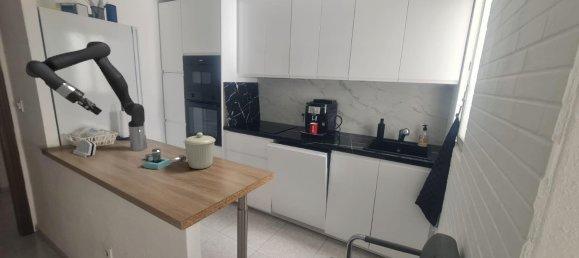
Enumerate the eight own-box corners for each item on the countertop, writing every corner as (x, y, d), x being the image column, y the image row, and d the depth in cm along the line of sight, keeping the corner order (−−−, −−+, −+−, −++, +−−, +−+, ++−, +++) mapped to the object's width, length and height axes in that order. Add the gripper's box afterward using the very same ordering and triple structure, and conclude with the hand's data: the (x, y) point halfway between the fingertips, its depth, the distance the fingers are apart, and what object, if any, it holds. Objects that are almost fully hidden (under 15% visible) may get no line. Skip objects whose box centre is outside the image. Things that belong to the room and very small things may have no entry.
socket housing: (156, 161, 149) (156, 157, 148) (170, 163, 147) (170, 159, 146) (143, 167, 139) (143, 162, 139) (158, 169, 137) (157, 164, 136)
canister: (206, 173, 135) (205, 137, 130) (178, 169, 138) (175, 134, 134) (221, 162, 152) (220, 130, 148) (195, 159, 156) (194, 128, 151)
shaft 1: (158, 162, 147) (157, 158, 147) (151, 164, 145) (150, 159, 144) (151, 157, 156) (151, 153, 155) (144, 159, 153) (144, 154, 152)
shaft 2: (167, 164, 145) (166, 160, 144) (164, 162, 148) (164, 158, 147) (187, 160, 154) (186, 155, 153) (184, 158, 156) (184, 154, 156)
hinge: (72, 152, 158) (76, 138, 159) (80, 153, 162) (85, 139, 163) (85, 157, 151) (89, 142, 152) (93, 158, 155) (98, 143, 156)
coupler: (157, 163, 146) (155, 148, 143) (163, 164, 144) (162, 149, 142) (150, 166, 141) (149, 150, 139) (157, 167, 140) (156, 151, 138)
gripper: (73, 88, 123) (103, 109, 131) (79, 87, 135) (106, 106, 143) (60, 98, 121) (92, 119, 130) (67, 96, 133) (96, 115, 141)
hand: (99, 113), depth 136 cm, fingers open, 8 cm apart
